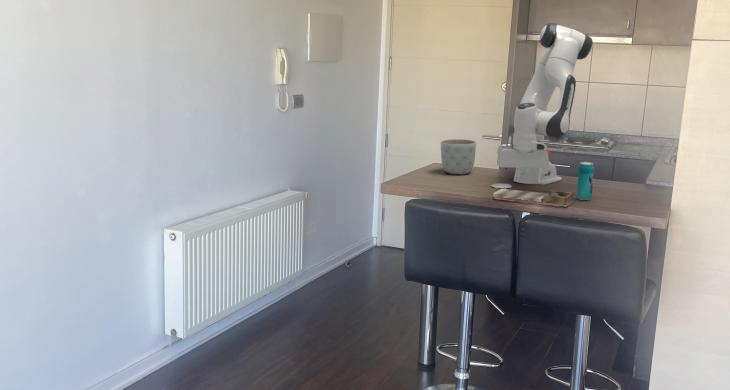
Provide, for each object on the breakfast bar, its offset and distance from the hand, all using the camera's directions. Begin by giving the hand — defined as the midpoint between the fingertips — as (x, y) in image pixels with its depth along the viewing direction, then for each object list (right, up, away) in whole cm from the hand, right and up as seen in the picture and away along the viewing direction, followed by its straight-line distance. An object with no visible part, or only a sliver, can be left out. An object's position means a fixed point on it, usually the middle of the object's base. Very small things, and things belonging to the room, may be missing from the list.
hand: (521, 178), depth 289 cm
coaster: (-3, -3, +26) cm, 26 cm away
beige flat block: (0, -9, +3) cm, 9 cm away
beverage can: (+26, -9, +2) cm, 27 cm away
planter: (-19, +4, +57) cm, 60 cm away
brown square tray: (+13, -10, -5) cm, 17 cm away
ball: (+12, -8, -3) cm, 15 cm away
